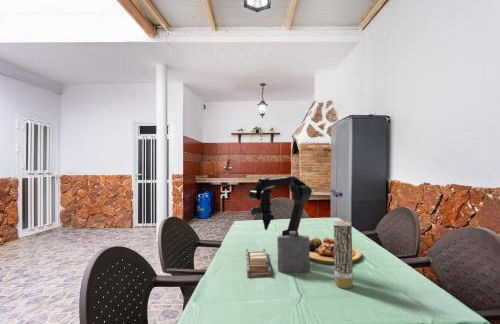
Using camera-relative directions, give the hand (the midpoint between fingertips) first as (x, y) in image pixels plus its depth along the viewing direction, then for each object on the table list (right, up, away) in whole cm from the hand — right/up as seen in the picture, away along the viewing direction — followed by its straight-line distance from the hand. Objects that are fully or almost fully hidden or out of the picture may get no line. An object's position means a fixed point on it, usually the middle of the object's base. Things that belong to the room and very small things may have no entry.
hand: (265, 229), depth 149 cm
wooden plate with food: (+34, -13, -3) cm, 37 cm away
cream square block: (-5, -12, -20) cm, 24 cm away
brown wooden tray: (-5, -13, -15) cm, 20 cm away
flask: (+11, -13, -24) cm, 29 cm away
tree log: (+29, -13, -39) cm, 50 cm away
